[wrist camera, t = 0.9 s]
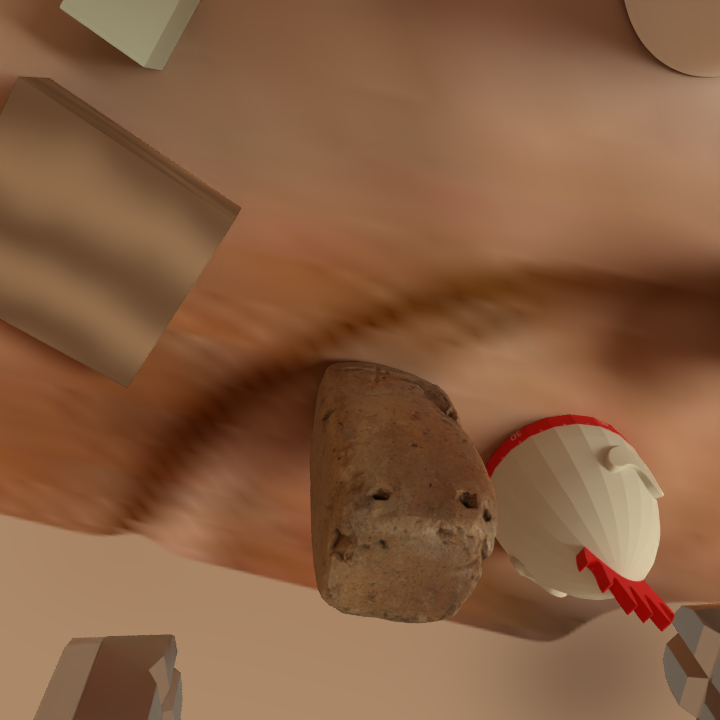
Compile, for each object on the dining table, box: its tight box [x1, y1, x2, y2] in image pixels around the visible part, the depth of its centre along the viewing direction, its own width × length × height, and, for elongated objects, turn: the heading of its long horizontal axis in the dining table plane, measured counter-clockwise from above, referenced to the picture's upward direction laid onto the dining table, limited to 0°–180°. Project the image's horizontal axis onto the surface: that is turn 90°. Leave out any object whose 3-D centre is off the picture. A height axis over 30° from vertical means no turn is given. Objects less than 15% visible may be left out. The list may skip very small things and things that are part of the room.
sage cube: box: [60, 0, 200, 70], centre depth 36 cm, size 5×5×5 cm
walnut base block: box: [0, 77, 241, 388], centre depth 41 cm, size 14×14×5 cm
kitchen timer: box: [486, 414, 675, 631], centre depth 48 cm, size 14×14×15 cm
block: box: [310, 361, 498, 623], centre depth 41 cm, size 11×8×20 cm
